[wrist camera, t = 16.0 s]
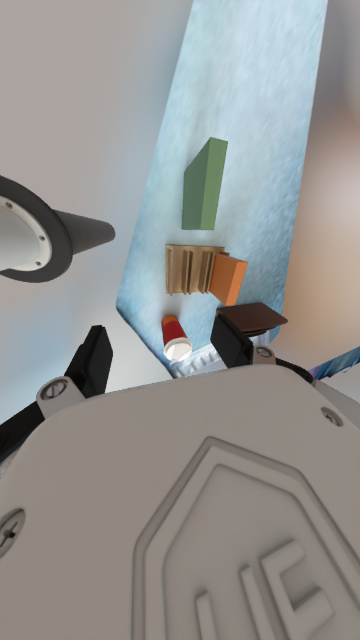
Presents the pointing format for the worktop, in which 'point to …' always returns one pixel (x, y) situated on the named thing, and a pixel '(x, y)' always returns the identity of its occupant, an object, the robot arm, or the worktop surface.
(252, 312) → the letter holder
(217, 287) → the orange book
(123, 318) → the worktop surface
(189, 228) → the green book
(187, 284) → the book rack
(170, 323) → the coffee cup
